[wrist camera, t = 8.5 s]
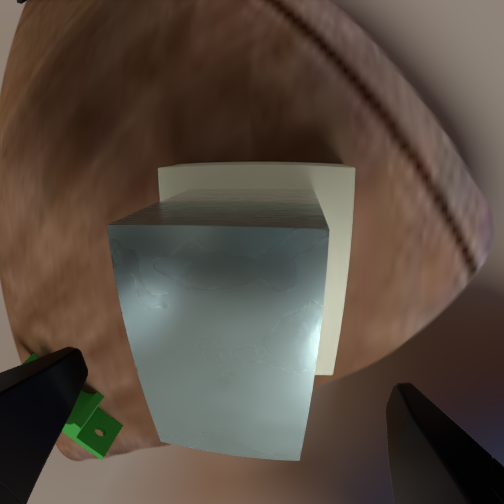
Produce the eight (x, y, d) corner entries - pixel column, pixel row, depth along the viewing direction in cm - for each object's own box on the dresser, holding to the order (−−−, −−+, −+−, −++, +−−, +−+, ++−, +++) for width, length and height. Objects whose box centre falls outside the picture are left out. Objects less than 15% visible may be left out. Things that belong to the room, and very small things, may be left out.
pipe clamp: (132, 414, 23) (111, 450, 19) (120, 427, 24) (101, 460, 20) (37, 337, 22) (7, 364, 18) (33, 357, 23) (7, 383, 19)
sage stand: (183, 163, 15) (157, 168, 12) (343, 164, 14) (355, 167, 11) (196, 332, 18) (180, 362, 15) (329, 341, 17) (332, 374, 14)
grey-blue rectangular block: (203, 350, 15) (160, 441, 9) (189, 189, 12) (106, 224, 7) (303, 358, 14) (299, 460, 9) (314, 190, 12) (329, 229, 6)
